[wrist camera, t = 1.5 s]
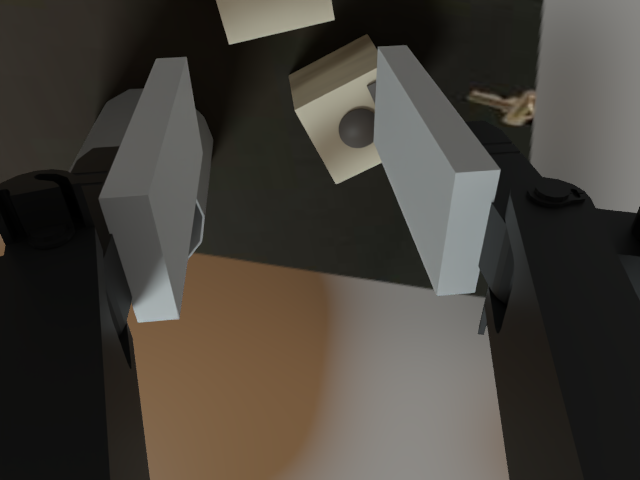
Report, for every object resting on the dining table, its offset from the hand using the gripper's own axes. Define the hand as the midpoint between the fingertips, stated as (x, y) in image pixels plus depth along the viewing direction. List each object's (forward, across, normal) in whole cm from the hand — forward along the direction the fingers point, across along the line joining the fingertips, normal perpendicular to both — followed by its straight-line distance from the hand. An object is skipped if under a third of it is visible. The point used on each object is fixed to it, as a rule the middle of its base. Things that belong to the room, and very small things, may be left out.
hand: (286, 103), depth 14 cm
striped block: (+23, +5, -9) cm, 25 cm away
